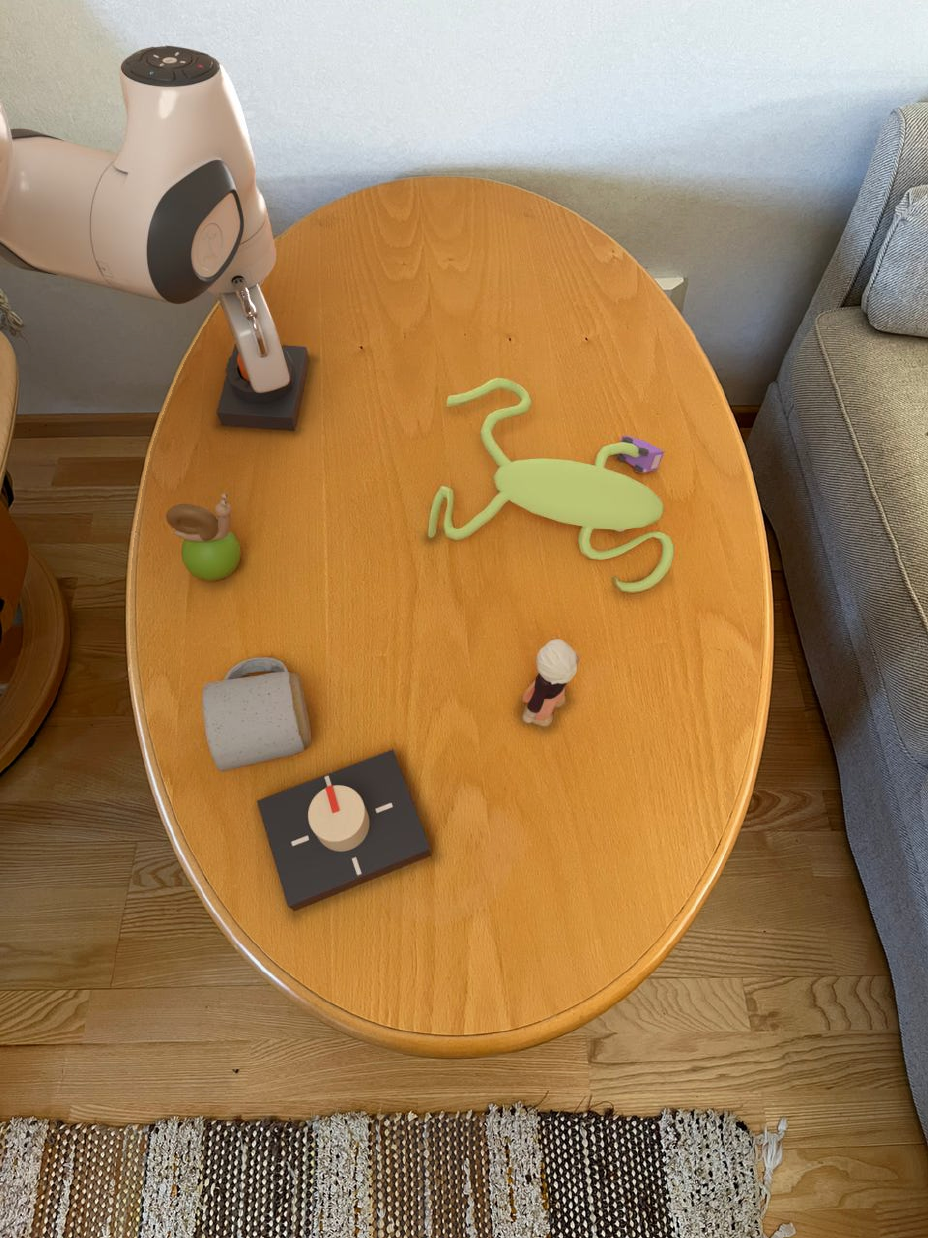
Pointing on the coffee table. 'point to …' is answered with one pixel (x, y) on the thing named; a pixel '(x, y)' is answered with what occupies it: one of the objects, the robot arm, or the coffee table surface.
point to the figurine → (567, 489)
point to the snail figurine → (206, 539)
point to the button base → (263, 395)
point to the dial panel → (328, 872)
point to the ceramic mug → (255, 715)
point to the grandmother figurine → (549, 682)
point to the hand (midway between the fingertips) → (256, 355)
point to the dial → (338, 818)
